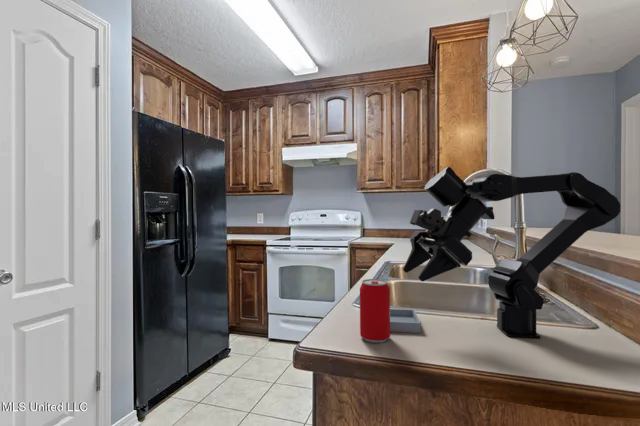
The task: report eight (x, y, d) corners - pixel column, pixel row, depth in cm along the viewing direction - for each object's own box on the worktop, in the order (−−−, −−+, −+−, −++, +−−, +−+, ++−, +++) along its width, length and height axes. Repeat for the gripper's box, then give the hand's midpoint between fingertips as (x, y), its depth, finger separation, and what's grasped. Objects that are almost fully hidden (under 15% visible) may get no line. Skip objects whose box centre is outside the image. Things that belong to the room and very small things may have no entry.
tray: (414, 317, 81) (414, 309, 81) (420, 332, 71) (420, 323, 71) (373, 316, 83) (373, 308, 83) (374, 330, 73) (374, 321, 73)
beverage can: (388, 333, 71) (388, 278, 71) (391, 345, 65) (391, 285, 65) (359, 332, 72) (359, 278, 72) (360, 343, 66) (360, 284, 66)
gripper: (416, 197, 79) (373, 245, 78) (453, 193, 60) (398, 256, 60) (449, 228, 80) (407, 276, 79) (496, 233, 61) (441, 296, 60)
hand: (411, 275), depth 69 cm, fingers open, 9 cm apart
